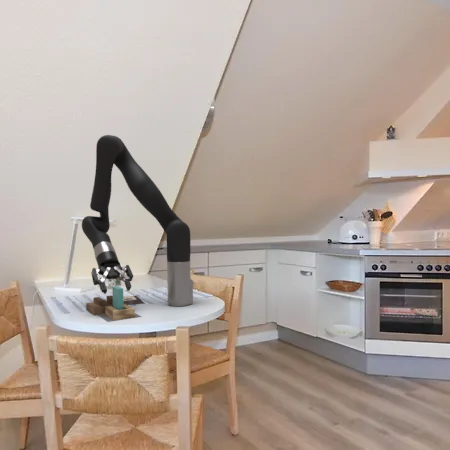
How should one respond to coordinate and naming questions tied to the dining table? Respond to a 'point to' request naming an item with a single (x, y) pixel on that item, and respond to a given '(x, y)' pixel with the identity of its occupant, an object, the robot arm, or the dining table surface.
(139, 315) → the mat
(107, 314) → the rack
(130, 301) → the chocolate bar
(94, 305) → the brown wooden stand
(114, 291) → the teal rectangular pillar
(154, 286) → the dining table surface
